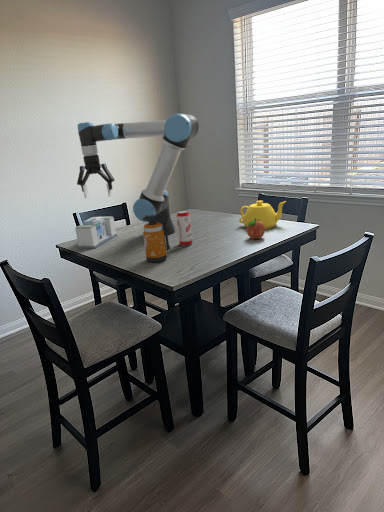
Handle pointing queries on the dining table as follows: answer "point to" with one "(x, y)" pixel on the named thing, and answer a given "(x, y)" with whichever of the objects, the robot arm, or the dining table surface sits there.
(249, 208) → the teapot
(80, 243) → the white u-shaped holder
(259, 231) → the fruit
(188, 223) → the beer can
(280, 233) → the dining table surface
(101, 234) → the light bulb box
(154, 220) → the canister
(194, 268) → the dining table surface
